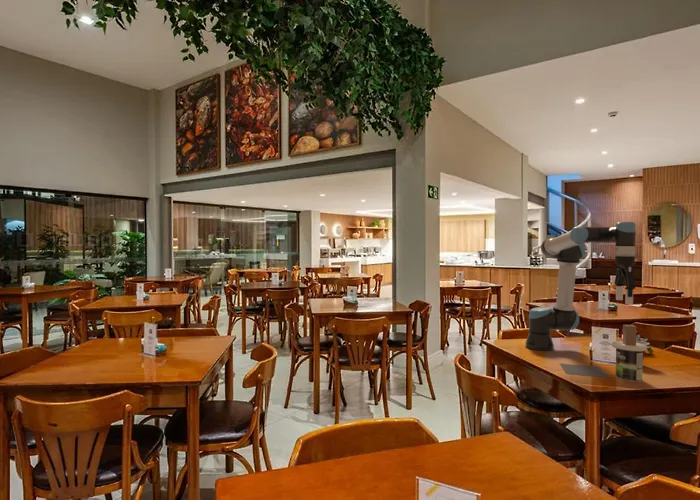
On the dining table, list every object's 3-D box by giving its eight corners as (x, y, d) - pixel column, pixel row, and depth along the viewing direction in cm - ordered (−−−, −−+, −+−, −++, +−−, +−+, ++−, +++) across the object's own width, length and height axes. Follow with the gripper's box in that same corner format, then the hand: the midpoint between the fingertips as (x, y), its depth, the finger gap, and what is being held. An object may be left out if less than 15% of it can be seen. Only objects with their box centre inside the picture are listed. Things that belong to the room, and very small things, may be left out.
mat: (559, 364, 208) (559, 363, 208) (599, 367, 203) (599, 366, 203) (566, 374, 191) (566, 373, 191) (610, 379, 186) (610, 377, 186)
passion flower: (636, 363, 231) (621, 345, 233) (636, 355, 239) (622, 338, 242) (657, 355, 224) (641, 336, 226) (656, 347, 233) (641, 329, 235)
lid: (608, 343, 194) (608, 322, 194) (640, 345, 190) (641, 323, 190) (617, 349, 182) (617, 327, 182) (651, 352, 178) (652, 329, 178)
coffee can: (624, 382, 181) (624, 350, 181) (610, 375, 191) (610, 344, 191) (648, 382, 181) (649, 350, 181) (633, 375, 191) (633, 345, 191)
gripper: (607, 254, 201) (606, 298, 202) (624, 256, 178) (623, 305, 178) (625, 255, 199) (624, 298, 200) (644, 256, 175) (643, 306, 176)
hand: (624, 302), depth 189 cm, fingers open, 13 cm apart
